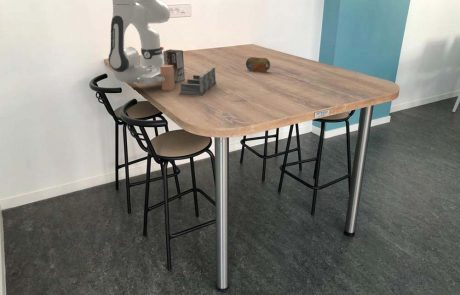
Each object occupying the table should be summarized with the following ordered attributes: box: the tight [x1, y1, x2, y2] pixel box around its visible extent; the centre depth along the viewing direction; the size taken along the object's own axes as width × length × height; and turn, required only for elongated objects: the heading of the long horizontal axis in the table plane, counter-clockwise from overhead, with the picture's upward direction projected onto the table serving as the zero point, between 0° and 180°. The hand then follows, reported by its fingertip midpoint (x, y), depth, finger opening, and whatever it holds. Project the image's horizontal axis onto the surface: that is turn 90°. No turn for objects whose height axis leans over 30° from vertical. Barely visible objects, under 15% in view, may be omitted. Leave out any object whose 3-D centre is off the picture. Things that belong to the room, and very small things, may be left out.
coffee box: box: [162, 49, 186, 82], centre depth 205 cm, size 9×6×16 cm
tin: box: [245, 56, 271, 73], centre depth 223 cm, size 15×3×8 cm, turn 62°
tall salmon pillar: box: [160, 65, 176, 91], centre depth 190 cm, size 4×5×12 cm
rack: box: [179, 66, 217, 96], centre depth 190 cm, size 21×12×9 cm, turn 164°
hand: (169, 76), depth 189 cm, fingers open, 8 cm apart
